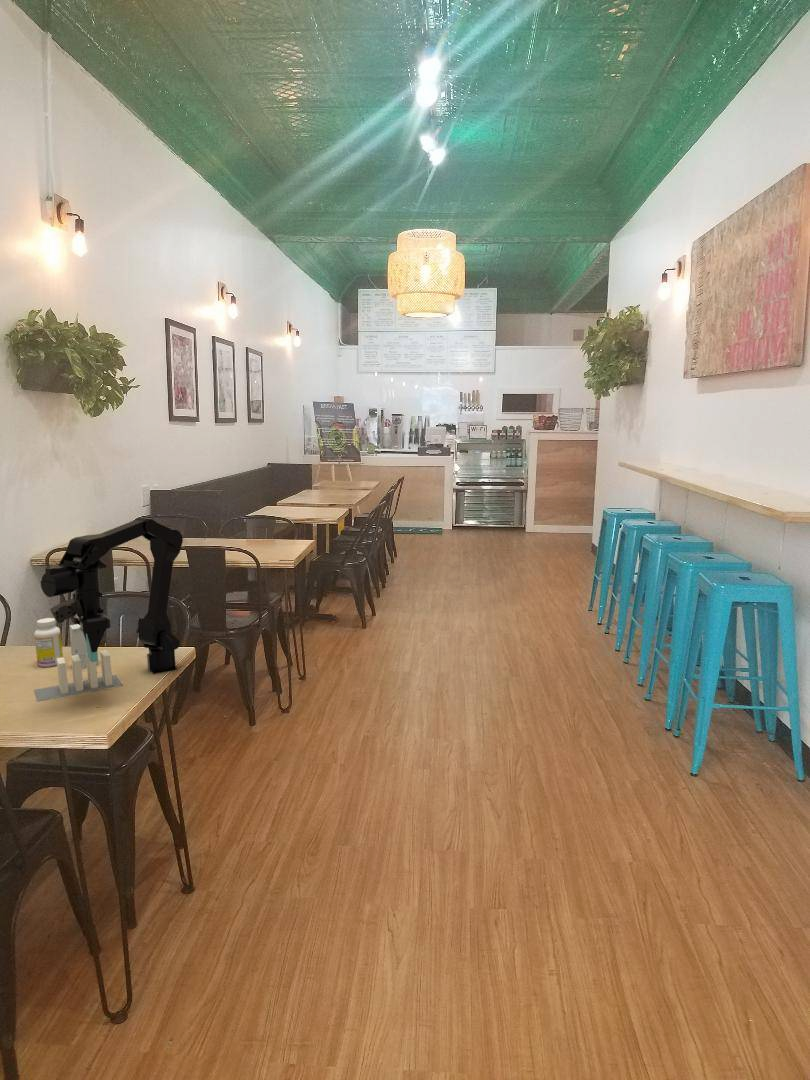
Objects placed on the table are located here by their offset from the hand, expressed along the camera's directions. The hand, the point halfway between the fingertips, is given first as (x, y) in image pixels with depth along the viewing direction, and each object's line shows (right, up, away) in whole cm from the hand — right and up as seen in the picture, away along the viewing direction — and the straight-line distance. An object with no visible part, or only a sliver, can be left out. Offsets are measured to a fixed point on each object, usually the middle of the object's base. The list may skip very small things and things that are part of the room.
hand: (92, 649), depth 180 cm
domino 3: (-3, -11, +8) cm, 14 cm away
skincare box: (-12, -9, +23) cm, 27 cm away
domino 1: (-9, -11, +4) cm, 15 cm away
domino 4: (0, -10, +10) cm, 14 cm away
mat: (-6, -11, +6) cm, 14 cm away
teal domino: (0, -3, 0) cm, 3 cm away
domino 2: (-6, -11, +6) cm, 14 cm away
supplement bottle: (-23, -8, +25) cm, 35 cm away
